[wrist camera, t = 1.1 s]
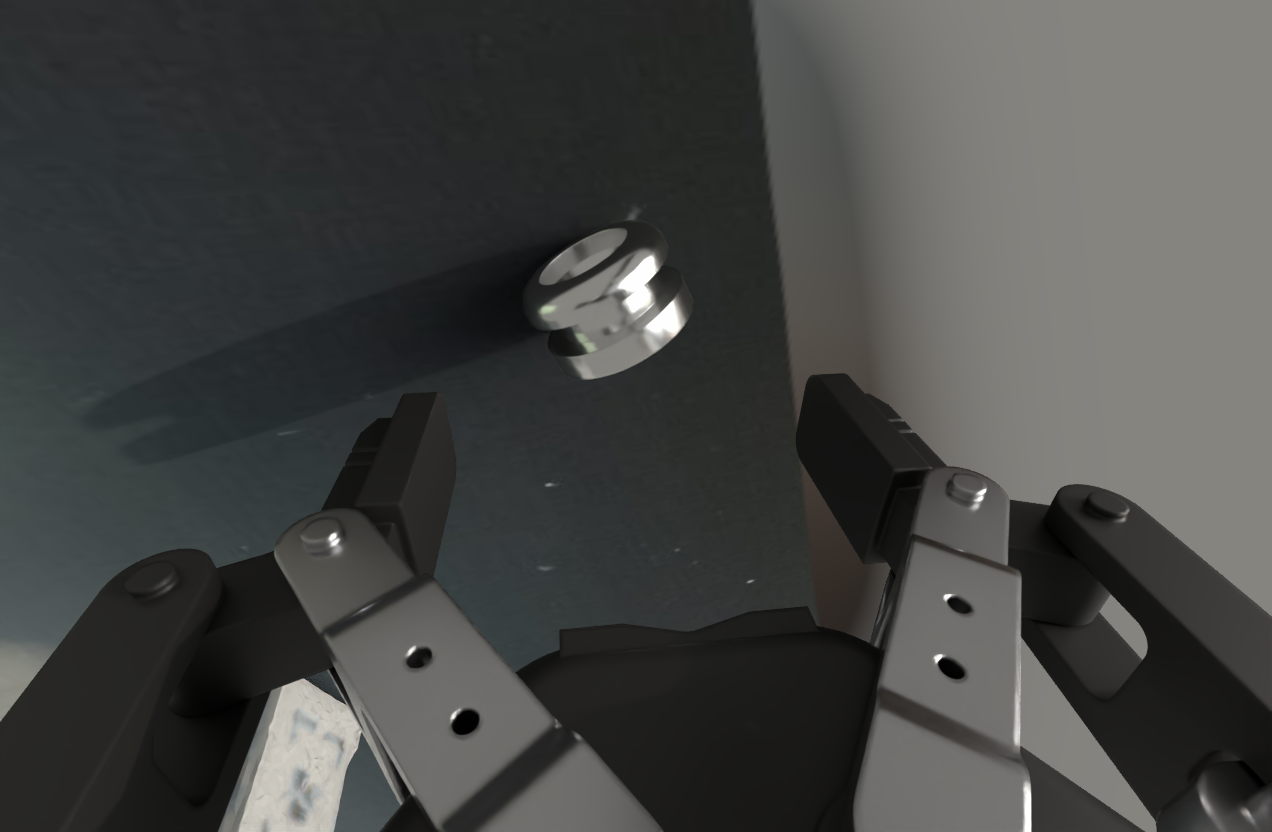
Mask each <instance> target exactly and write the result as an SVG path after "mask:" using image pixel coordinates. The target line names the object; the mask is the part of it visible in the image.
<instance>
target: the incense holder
mask: <svg viewBox="0 0 1272 832" xmlns="http://www.w3.org/2000/svg"><path fill="white" fill-rule="evenodd" d="M361 732H362V731H361V730H360V728H359V726H358V724H357V722H356V721H355V719H354V717H353V715H352V714H351V712H350V710H349V708H348V706H347V705H345V704H343V703H341V702H340V701H338V700H336V699H334V698H333V697H332V696H330V695H328V694H327V693H325V692H323V691H321V690H320V689H319V688H318V687H316V686H314V685H313V684H311V683H310V682H308V681H307V680H305V679H301V680H298V681H295V682H293V683H290V684H287V685H284V686H282V687H279V688H276V689H274V690H271V693H270V696H269V698H268V701H267V703H266V706H265V709H264V711H263V714H262V717H261V719H260V722H259V725H258V727H257V730H256V733H255V735H254V738H253V741H252V743H251V746H250V749H249V751H248V754H247V757H246V759H245V762H244V764H243V767H242V770H241V772H240V775H239V778H238V780H237V783H236V786H235V788H234V791H233V794H232V796H231V799H230V802H229V804H228V807H227V810H226V812H225V815H224V817H223V820H222V823H221V825H220V828H219V831H218V832H334V827H335V822H336V817H337V813H338V809H339V802H340V797H341V793H342V788H343V782H344V777H345V772H346V769H347V766H348V764H349V762H350V760H351V758H352V756H353V754H354V753H355V751H356V750H357V748H358V743H359V738H360V735H361Z"/></svg>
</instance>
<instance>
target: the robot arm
mask: <svg viewBox="0 0 1272 832" xmlns="http://www.w3.org/2000/svg"><path fill="white" fill-rule="evenodd" d="M796 447H797V452H798V456H799V458H800V460H801V462H802V464H803V465H804V467H805V469H806V470H807V472H808V473H809V475H810V477H811V478H812V480H813V482H814V483H815V485H816V487H817V488H818V490H819V491H820V493H821V495H822V497H823V498H824V500H825V501H826V503H827V505H828V506H829V508H830V510H831V511H832V513H833V515H834V516H835V518H836V520H837V521H838V523H839V525H840V526H841V528H842V530H843V531H844V533H845V534H846V536H847V538H848V539H849V541H850V543H851V544H852V546H853V548H854V549H855V551H856V553H857V554H858V556H859V558H860V559H861V561H862V563H863V564H873V563H884V562H887V563H888V564H889V566H890V567H891V569H890V572H889V576H888V578H887V581H886V584H885V588H884V592H883V595H882V599H881V603H880V606H879V610H878V614H877V617H876V621H875V625H874V629H873V633H872V636H871V640H870V643H868V642H866V641H863V640H861V639H859V638H857V637H855V636H852V635H849V634H846V633H843V632H841V631H837V630H833V629H829V628H825V627H819V626H816V624H815V621H814V619H813V617H812V615H811V613H810V610H809V608H808V606H805V607H795V608H784V609H774V610H763V611H752V612H747V613H744V614H741V615H738V616H736V617H733V618H730V619H727V620H724V621H721V622H718V623H716V624H713V625H710V626H707V627H704V628H701V629H698V630H695V631H690V632H683V631H675V630H667V629H660V628H652V627H644V626H636V625H628V624H615V625H605V626H594V627H583V628H573V629H562V630H560V650H558V651H556V652H553V653H550V654H547V655H545V656H543V657H541V658H539V659H537V660H535V661H533V662H531V663H530V664H528V665H526V666H525V667H523V668H521V669H520V670H519V671H517V672H516V673H515V671H514V670H513V669H512V668H511V667H510V666H509V664H508V663H507V662H506V661H505V660H504V659H503V657H502V656H501V655H500V654H499V653H498V652H497V650H496V649H495V648H494V647H493V646H492V645H491V643H490V642H489V641H488V640H487V639H486V638H485V636H484V635H483V634H482V633H481V632H480V631H479V629H478V628H477V627H476V626H475V625H474V624H473V622H472V621H471V620H470V619H469V618H468V617H467V615H466V614H465V613H464V612H463V611H462V610H461V608H460V607H459V606H458V605H457V604H456V603H455V601H454V600H453V599H452V598H451V597H450V596H449V594H448V593H447V592H446V591H445V590H444V589H443V587H442V586H441V585H440V584H439V583H438V582H437V580H436V579H435V578H434V577H433V575H434V570H435V566H436V562H437V557H438V553H439V549H440V544H441V540H442V536H443V531H444V527H445V523H446V518H447V514H448V510H449V506H450V501H451V497H452V493H453V488H454V484H455V479H456V457H455V450H454V445H453V440H452V435H451V430H450V425H449V419H448V414H447V409H446V404H445V400H444V397H443V395H442V393H441V392H431V393H410V394H403V395H402V397H401V399H400V402H399V404H398V406H397V408H396V411H395V413H394V415H393V417H392V418H378V419H377V420H376V421H375V422H373V423H372V424H371V425H370V426H369V427H367V428H366V429H365V430H364V431H363V432H361V433H360V435H359V437H358V439H357V441H356V443H355V445H354V447H353V449H352V453H350V455H349V457H348V459H347V461H346V463H345V467H343V469H342V470H341V472H340V474H339V476H338V478H337V480H336V482H335V484H334V486H333V488H332V490H331V492H330V494H329V496H328V498H327V500H326V502H325V504H324V506H323V508H322V510H321V511H320V512H316V513H314V514H311V515H309V516H307V517H305V518H303V519H301V520H299V521H298V522H296V523H294V524H293V525H292V526H290V527H289V528H288V529H287V530H286V531H285V532H284V533H283V534H282V535H281V536H280V538H279V539H278V541H277V543H276V545H275V549H274V551H272V552H270V553H267V554H264V555H261V556H257V557H254V558H250V559H247V560H243V561H240V562H236V563H233V564H229V565H226V566H222V567H219V568H216V567H215V565H214V563H213V561H212V560H211V558H210V556H209V555H208V554H206V553H205V552H203V551H200V550H196V549H177V550H170V551H166V552H162V553H159V554H156V555H153V556H150V557H148V558H146V559H143V560H141V561H139V562H137V563H135V564H133V565H131V566H130V567H128V568H126V569H125V570H123V571H122V572H120V573H119V574H118V575H116V576H115V577H114V578H113V579H111V580H110V581H109V582H108V583H107V584H106V585H105V586H104V587H103V589H102V590H101V591H100V592H99V594H98V595H97V596H96V597H95V599H94V600H93V601H92V603H91V604H90V605H89V607H88V608H87V609H86V611H85V612H84V613H83V614H82V616H81V617H80V618H79V620H78V621H77V622H76V624H75V625H74V626H73V628H72V629H71V630H70V631H69V633H68V634H67V635H66V637H65V638H64V639H63V641H62V642H61V643H60V645H59V646H58V647H57V648H56V650H55V651H54V652H53V654H52V655H51V656H50V658H49V659H48V660H47V662H46V663H45V664H44V665H43V667H42V668H41V669H40V671H39V672H38V673H37V675H36V676H35V677H34V679H33V680H32V681H31V683H30V684H29V685H28V686H27V688H26V689H25V690H24V692H23V693H22V694H21V696H20V697H19V698H18V700H17V701H16V702H15V703H14V705H13V706H12V707H11V709H10V710H9V711H8V713H7V714H6V715H5V717H4V718H3V719H2V720H1V722H0V832H218V831H219V828H220V825H221V823H222V820H223V817H224V815H225V812H226V810H227V807H228V804H229V802H230V799H231V796H232V794H233V791H234V788H235V786H236V783H237V780H238V778H239V775H240V772H241V770H242V767H243V764H244V762H245V759H246V757H247V754H248V751H249V749H250V746H251V743H252V741H253V738H254V735H255V733H256V730H257V727H258V725H259V722H260V719H261V717H262V714H263V711H264V709H265V706H266V703H267V701H268V698H269V696H270V693H271V690H274V689H276V688H279V687H282V686H284V685H287V684H290V683H293V682H295V681H298V680H301V679H303V678H306V677H309V676H312V675H314V674H317V673H320V672H322V671H325V670H327V671H328V672H329V674H330V676H331V678H332V680H333V681H334V683H335V685H336V687H337V688H338V690H339V692H340V694H341V696H342V697H343V699H344V701H345V703H346V705H347V706H348V708H349V710H350V712H351V714H352V715H353V717H354V719H355V721H356V722H357V724H358V726H359V728H360V730H361V731H362V733H363V735H364V737H365V739H366V740H367V742H368V744H369V746H370V748H371V750H372V751H373V753H374V755H375V757H376V759H377V761H378V763H379V765H380V767H381V769H382V771H383V773H384V775H385V777H386V779H387V781H388V783H389V785H390V787H391V788H392V790H393V792H394V794H395V796H396V798H397V800H398V801H399V803H400V805H401V806H400V807H399V809H398V810H397V811H396V812H395V813H394V815H393V816H392V817H391V818H390V820H389V821H388V822H387V823H386V825H385V826H384V827H383V828H382V829H381V831H380V832H1145V831H1143V830H1142V829H1140V828H1139V827H1137V826H1136V825H1134V824H1133V823H1132V822H1130V821H1129V820H1127V819H1126V818H1124V817H1123V816H1121V815H1120V814H1119V813H1117V812H1116V811H1114V810H1113V809H1111V808H1110V807H1108V806H1107V805H1106V804H1104V803H1103V802H1101V801H1100V800H1098V799H1097V798H1095V797H1094V796H1092V795H1091V794H1090V793H1088V792H1087V791H1085V790H1084V789H1082V788H1081V787H1079V786H1078V785H1076V784H1075V783H1074V782H1072V781H1070V780H1069V779H1068V778H1066V777H1065V776H1063V775H1062V774H1061V773H1059V772H1058V771H1056V770H1055V769H1053V768H1052V767H1050V766H1049V765H1048V764H1046V763H1045V762H1043V761H1042V760H1040V759H1039V758H1037V757H1036V756H1035V755H1033V754H1032V753H1030V752H1029V751H1027V750H1026V749H1024V748H1023V747H1021V746H1020V665H1021V664H1020V663H1021V659H1020V658H1021V637H1022V639H1023V640H1024V641H1025V643H1026V644H1027V646H1028V647H1029V648H1030V649H1031V651H1032V652H1033V653H1034V655H1035V656H1036V658H1037V659H1038V660H1039V662H1040V663H1041V665H1042V666H1043V667H1044V669H1045V670H1046V672H1047V673H1048V674H1049V676H1050V677H1051V678H1052V680H1053V681H1054V682H1055V684H1056V685H1057V686H1058V688H1059V689H1060V691H1061V692H1062V693H1063V695H1064V696H1065V698H1066V699H1067V700H1068V702H1069V703H1070V704H1071V706H1072V707H1073V708H1074V710H1075V711H1076V712H1077V714H1078V715H1079V717H1080V718H1081V719H1082V721H1083V722H1084V724H1085V725H1086V726H1087V727H1088V729H1089V730H1090V732H1091V733H1092V735H1093V736H1094V737H1095V738H1096V740H1097V741H1098V743H1099V744H1100V746H1101V747H1102V748H1103V750H1104V751H1105V752H1106V753H1107V755H1108V756H1109V758H1110V759H1111V760H1112V762H1113V763H1114V765H1115V766H1116V767H1117V769H1118V770H1119V772H1120V773H1121V774H1122V776H1123V777H1124V778H1125V780H1126V781H1127V782H1128V784H1129V785H1130V786H1131V788H1132V789H1133V791H1134V792H1135V793H1136V795H1137V796H1138V797H1139V799H1140V800H1141V802H1142V803H1143V804H1144V806H1145V807H1146V809H1147V810H1148V811H1149V813H1150V814H1151V815H1152V817H1153V818H1154V819H1155V821H1156V827H1157V832H1272V616H1270V615H1269V614H1268V613H1267V612H1266V611H1264V610H1263V609H1262V608H1261V607H1259V606H1258V605H1257V604H1256V603H1255V602H1254V601H1252V600H1251V599H1250V598H1249V597H1248V596H1246V595H1245V594H1244V593H1243V592H1241V591H1240V590H1239V589H1238V588H1237V587H1236V586H1234V585H1233V584H1232V583H1230V581H1228V580H1227V579H1226V578H1225V577H1224V576H1222V575H1221V574H1220V573H1219V572H1218V571H1216V570H1215V569H1214V568H1212V567H1211V566H1210V565H1209V564H1208V563H1207V562H1206V561H1204V560H1203V559H1202V558H1201V557H1199V556H1198V555H1197V554H1196V553H1195V552H1194V551H1192V550H1191V549H1190V548H1189V547H1188V546H1186V545H1185V544H1184V543H1183V542H1182V541H1180V540H1179V539H1178V538H1177V537H1175V536H1174V535H1173V534H1172V533H1171V532H1169V531H1168V530H1167V529H1166V528H1165V527H1163V526H1162V525H1161V524H1160V523H1159V522H1157V521H1156V520H1155V519H1154V518H1153V517H1151V516H1150V515H1149V514H1148V513H1147V512H1145V511H1144V510H1143V509H1142V508H1140V507H1139V506H1138V505H1137V504H1135V503H1133V502H1132V501H1130V500H1128V499H1127V498H1125V497H1123V496H1121V495H1119V494H1116V493H1114V492H1111V491H1109V490H1106V489H1102V488H1099V487H1094V486H1089V485H1081V484H1073V485H1067V486H1064V487H1062V488H1060V489H1059V490H1058V492H1057V494H1056V496H1055V498H1054V499H1053V501H1052V503H1051V505H1050V506H1049V505H1043V504H1036V503H1029V502H1022V501H1015V500H1009V497H1008V495H1007V494H1006V492H1005V491H1004V490H1003V489H1002V488H1001V487H1000V486H999V485H998V484H997V483H995V482H994V481H992V480H991V479H989V478H988V477H986V476H984V475H982V474H979V473H977V472H974V471H971V470H968V469H964V468H959V467H950V466H949V467H948V466H946V464H944V462H943V461H942V460H941V459H940V458H939V457H938V456H937V455H936V454H935V453H934V452H933V451H932V450H931V449H930V448H929V447H928V446H927V445H926V444H925V442H924V441H922V439H921V438H920V437H919V436H918V435H917V434H916V433H913V430H912V429H911V428H910V427H909V426H908V425H907V423H906V422H902V418H901V417H900V416H899V415H898V414H897V413H896V412H895V411H894V410H893V409H892V408H891V407H890V406H889V405H888V404H886V403H884V402H883V401H881V400H879V399H877V398H875V397H874V396H872V395H870V394H865V393H864V392H863V391H862V390H861V389H860V388H859V387H858V386H857V385H856V383H854V381H853V380H852V379H851V378H850V377H849V376H848V375H847V374H821V375H811V376H810V377H809V379H808V380H807V383H806V387H805V392H804V397H803V402H802V407H801V412H800V417H799V422H798V427H797V432H796ZM1110 595H1112V596H1113V597H1114V598H1115V599H1116V600H1117V601H1118V602H1119V603H1120V604H1121V605H1122V606H1123V607H1124V608H1125V609H1126V610H1127V611H1128V612H1129V613H1130V615H1132V617H1133V618H1134V619H1136V621H1137V622H1138V623H1139V624H1140V626H1141V627H1142V629H1143V631H1144V633H1145V635H1146V638H1147V643H1148V650H1147V654H1146V656H1145V658H1144V659H1143V660H1142V659H1141V658H1140V657H1139V656H1138V655H1137V654H1136V652H1135V651H1134V650H1133V649H1132V648H1131V647H1130V646H1129V645H1128V644H1127V643H1126V641H1125V640H1124V639H1123V638H1122V637H1121V636H1120V635H1119V634H1118V632H1117V631H1115V629H1114V628H1113V627H1112V626H1111V625H1110V624H1109V623H1108V621H1107V620H1106V619H1105V618H1104V617H1103V616H1102V615H1101V614H1100V613H1099V611H1100V609H1101V608H1102V606H1103V605H1104V603H1105V602H1106V601H1107V599H1108V597H1109V596H1110Z"/></svg>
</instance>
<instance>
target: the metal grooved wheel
mask: <svg viewBox="0 0 1272 832" xmlns="http://www.w3.org/2000/svg"><path fill="white" fill-rule="evenodd" d="M667 255H668V245H667V243H666V241H665V239H664V237H663V235H662V233H661V232H660V231H659V230H658V229H657V228H656V227H655V226H654V225H652V224H650V223H648V222H645V221H640V220H628V221H622V222H618V223H614V224H611V225H608V226H605V227H602V228H600V229H598V230H595V231H593V232H591V233H589V234H587V235H585V236H583V237H581V238H579V239H578V240H576V241H574V242H573V243H571V244H569V245H568V246H566V247H565V248H563V249H562V250H560V251H559V252H558V253H556V254H555V255H554V256H552V257H551V258H550V259H549V260H547V261H546V262H545V263H544V264H543V265H542V266H541V267H540V268H539V269H538V270H537V271H536V272H535V273H534V274H533V275H532V277H531V278H530V280H529V281H528V283H527V285H526V287H525V289H524V292H523V296H522V305H523V310H524V312H525V315H526V316H527V318H528V319H529V321H530V322H531V324H532V325H533V326H534V327H535V328H537V329H540V330H552V331H551V333H550V335H549V338H548V348H549V351H550V352H551V354H552V355H553V357H554V358H555V359H556V361H557V362H558V364H559V365H560V367H561V368H562V370H563V371H564V373H565V374H566V375H568V376H570V377H572V378H575V379H596V378H601V377H605V376H609V375H612V374H615V373H618V372H620V371H623V370H625V369H627V368H630V367H632V366H634V365H636V364H638V363H639V362H641V361H643V360H645V359H646V358H648V357H650V356H651V355H653V354H654V353H655V352H657V351H658V350H660V349H661V348H662V347H663V346H665V345H666V344H667V343H668V342H669V341H671V340H672V339H673V338H674V337H675V336H676V335H677V334H678V332H679V331H680V330H681V329H682V328H683V326H684V325H685V324H686V322H687V321H688V319H689V317H690V315H691V312H692V309H693V299H692V296H691V294H690V292H689V290H688V288H687V286H686V284H685V281H684V279H683V277H682V275H681V273H680V272H679V271H678V270H677V269H675V268H673V267H669V266H662V265H663V264H664V262H665V260H666V258H667Z"/></svg>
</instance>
